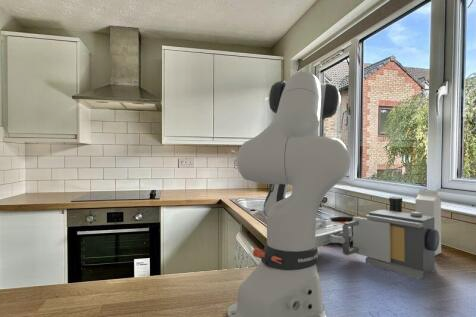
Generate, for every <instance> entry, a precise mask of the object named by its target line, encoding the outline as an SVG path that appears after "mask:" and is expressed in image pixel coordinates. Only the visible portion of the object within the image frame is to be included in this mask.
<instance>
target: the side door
mask: <svg viewBox="0 0 476 317" xmlns="http://www.w3.org/2000/svg"><path fill="white" fill-rule="evenodd" d="M352 217H353V221H351V222H347V223H344V225H342V228H343V237H346V239H347V240H346V241H347V242H346V243H343V244H342V254H344V255H345V256H350V255H352V254H357V255H360V256H363V257H364V256H365V257H370V258H374V259H378V260H381V261H385V262H388V263H390V262H391V223H388V222H383V221H377V220H371V219H365V217H360V216H352ZM352 226H353V244H352V247H351V248H350V244H349V227H352Z"/></svg>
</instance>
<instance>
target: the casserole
mask: <svg viewBox="0 0 476 317" xmlns="http://www.w3.org/2000/svg"><path fill="white" fill-rule="evenodd" d="M353 217H354V216H334V217H330V218H329V219H330V220H331V221H332V222H338V223H342V224H344V223H347V222H351V221H353ZM351 228H352V236H353V226H352V227H351ZM349 245H353V240H352V241H350V242H349Z"/></svg>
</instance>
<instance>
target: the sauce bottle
mask: <svg viewBox="0 0 476 317" xmlns="http://www.w3.org/2000/svg"><path fill="white" fill-rule="evenodd" d="M388 202H389V210H388V211H395V212H403V205H402V203H403V198H402V197H401V196H390V197H389V199H388Z"/></svg>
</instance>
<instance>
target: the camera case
mask: <svg viewBox="0 0 476 317" xmlns="http://www.w3.org/2000/svg"><path fill="white" fill-rule="evenodd" d="M364 218H365V219H371V220H377V221H383V222H388V223H391V262H390V263H388V262H385V261H381V260H378V259H374V258H370V257H367V256H365V264H367V265H371V266H374V267H378V268H381V269H384V270H387V271H391V272H393V273H397V274H400V275H401V274H402V275H405V276H408V277H411V278H415V279H418V280H421V279H423V278H424V277H426V276H428V275H430V274H431V273H433V272H434V271H436V270H435V269H436V268H435V266H436V265H435V264H436V263H435V258H436V255H435V251H436V250H437V248H438V245H439V233H438V231H437V230H434V217H431V216H424V215H422V213H421V212H416V211H410V213H409V212H403V211H402V212H395V211H389V210H387V209H378V210H375V211H374V210H373V211H369V212H368V214H366V215H365V217H364Z"/></svg>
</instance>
